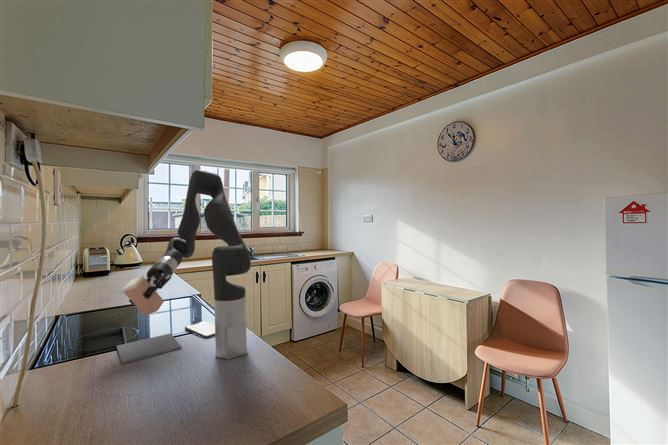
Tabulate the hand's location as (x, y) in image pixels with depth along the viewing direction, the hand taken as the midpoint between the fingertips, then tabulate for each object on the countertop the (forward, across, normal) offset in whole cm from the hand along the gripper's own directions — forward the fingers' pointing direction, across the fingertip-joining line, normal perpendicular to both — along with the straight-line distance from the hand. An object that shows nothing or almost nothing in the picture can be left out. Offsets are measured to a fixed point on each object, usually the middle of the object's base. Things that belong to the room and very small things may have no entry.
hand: (138, 299), depth 101 cm
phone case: (-6, +7, +25) cm, 27 cm away
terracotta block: (-3, 0, +6) cm, 7 cm away
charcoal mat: (+7, -2, +14) cm, 16 cm away
